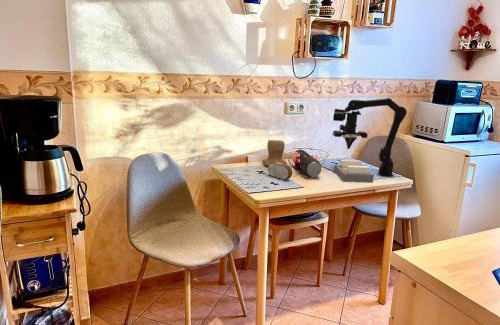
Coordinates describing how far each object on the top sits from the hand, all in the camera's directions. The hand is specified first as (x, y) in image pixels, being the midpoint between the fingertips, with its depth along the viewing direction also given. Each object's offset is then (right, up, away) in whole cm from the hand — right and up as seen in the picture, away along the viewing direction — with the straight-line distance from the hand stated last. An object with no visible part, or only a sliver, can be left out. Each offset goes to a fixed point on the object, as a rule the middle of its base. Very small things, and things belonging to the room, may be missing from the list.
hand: (348, 148), depth 217 cm
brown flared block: (-43, -9, +10) cm, 45 cm away
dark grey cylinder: (-25, -14, -4) cm, 29 cm away
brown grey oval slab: (-42, -16, -17) cm, 48 cm away
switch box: (0, -16, -9) cm, 18 cm away
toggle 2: (+1, -13, -17) cm, 21 cm away
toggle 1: (0, -10, -5) cm, 11 cm away
